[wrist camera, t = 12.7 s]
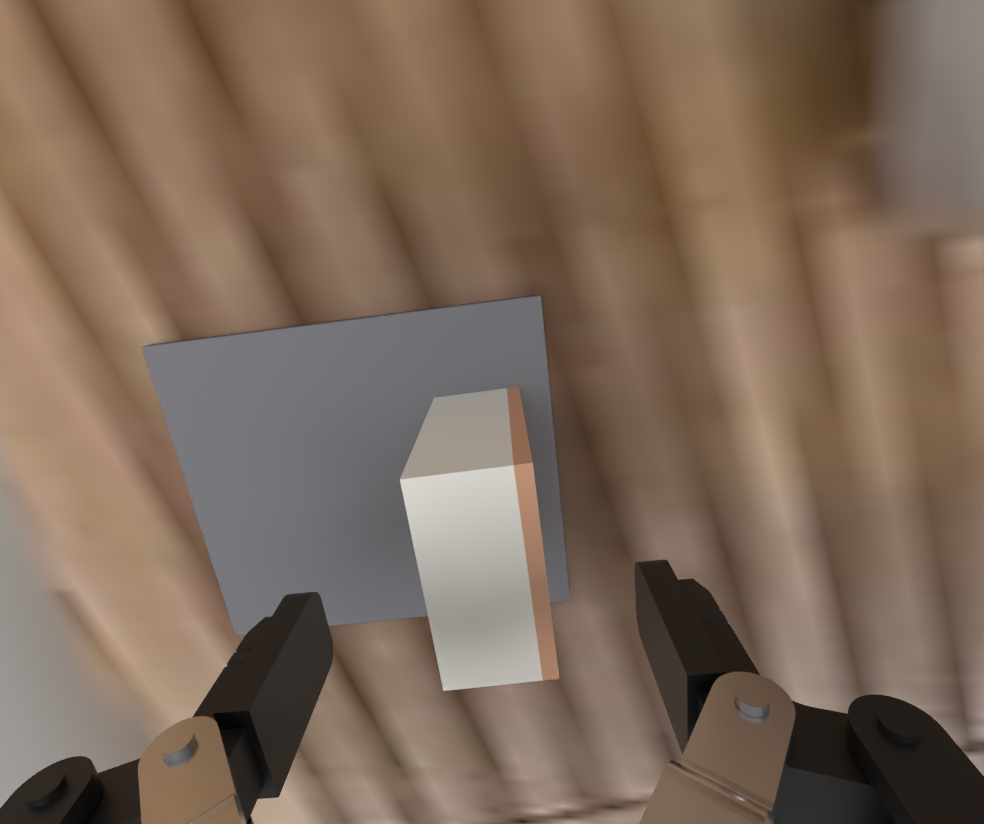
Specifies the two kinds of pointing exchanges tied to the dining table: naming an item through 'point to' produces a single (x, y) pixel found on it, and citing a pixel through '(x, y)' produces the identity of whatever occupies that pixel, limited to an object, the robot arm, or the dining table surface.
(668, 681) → the robot arm
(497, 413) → the white block copper side
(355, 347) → the mat
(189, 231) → the dining table surface
